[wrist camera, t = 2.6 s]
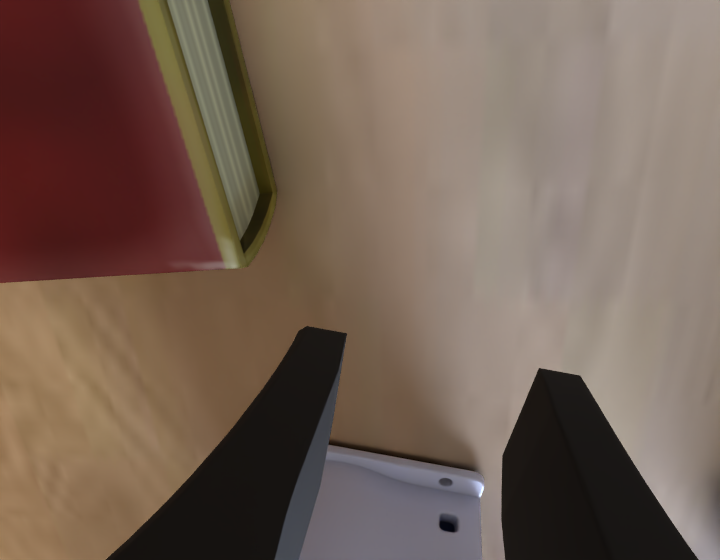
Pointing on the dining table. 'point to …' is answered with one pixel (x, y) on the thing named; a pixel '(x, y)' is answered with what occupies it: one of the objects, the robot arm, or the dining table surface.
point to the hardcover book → (127, 140)
